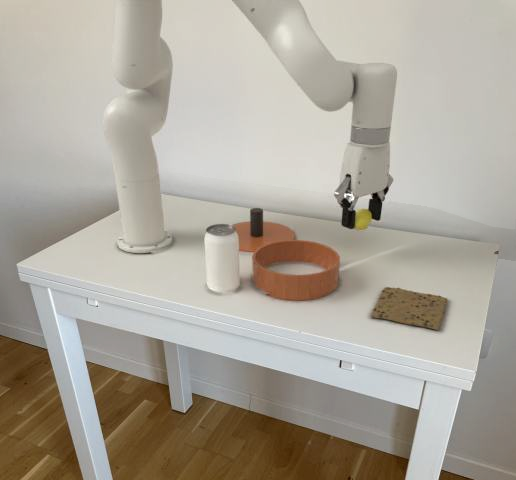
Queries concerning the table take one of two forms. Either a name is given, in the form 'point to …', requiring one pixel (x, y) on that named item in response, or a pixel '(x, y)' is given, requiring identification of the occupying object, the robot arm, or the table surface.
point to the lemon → (362, 219)
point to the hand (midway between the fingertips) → (360, 222)
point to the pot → (295, 284)
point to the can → (222, 257)
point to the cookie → (410, 307)
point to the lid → (260, 232)
